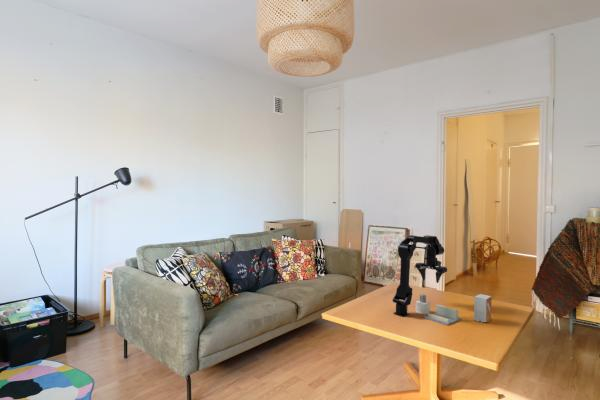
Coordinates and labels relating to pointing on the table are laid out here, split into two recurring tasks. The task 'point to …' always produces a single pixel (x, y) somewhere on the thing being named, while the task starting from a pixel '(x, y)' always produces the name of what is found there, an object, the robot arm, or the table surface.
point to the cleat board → (444, 315)
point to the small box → (482, 308)
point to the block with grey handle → (422, 305)
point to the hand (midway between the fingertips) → (430, 281)
